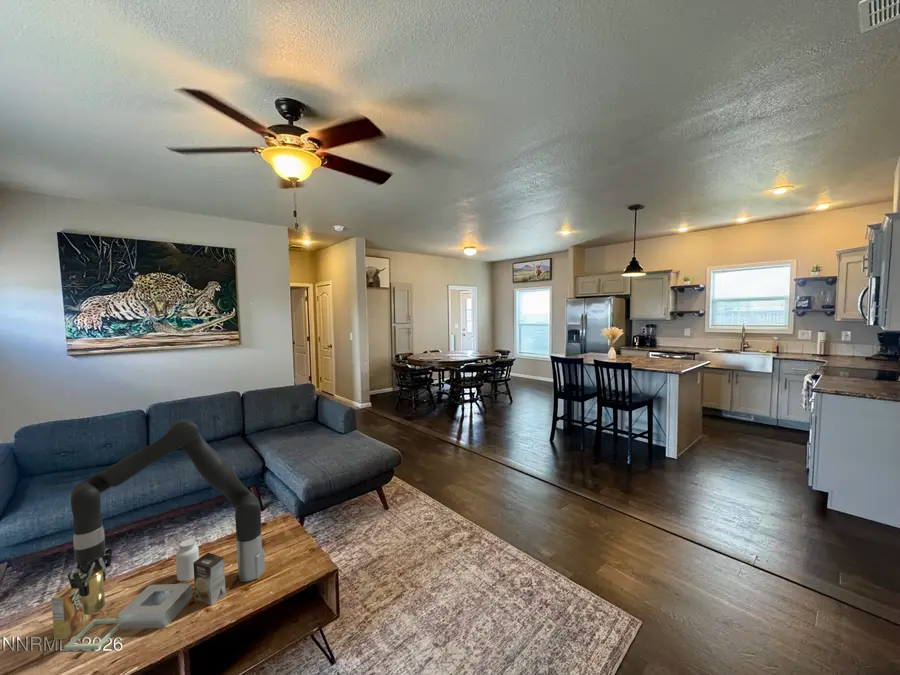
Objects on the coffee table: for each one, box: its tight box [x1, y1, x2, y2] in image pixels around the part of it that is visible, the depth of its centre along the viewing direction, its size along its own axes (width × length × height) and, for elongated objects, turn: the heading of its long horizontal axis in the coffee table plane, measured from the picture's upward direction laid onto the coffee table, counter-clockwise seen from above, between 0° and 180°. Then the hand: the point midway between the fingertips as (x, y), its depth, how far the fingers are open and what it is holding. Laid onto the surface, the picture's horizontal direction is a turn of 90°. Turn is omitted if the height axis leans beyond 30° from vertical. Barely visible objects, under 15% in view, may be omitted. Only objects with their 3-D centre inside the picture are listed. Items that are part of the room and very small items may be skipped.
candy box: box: [50, 583, 89, 641], centre depth 130 cm, size 9×4×15 cm, turn 6°
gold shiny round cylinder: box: [82, 568, 106, 616], centre depth 126 cm, size 5×5×13 cm
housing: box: [117, 583, 193, 630], centre depth 137 cm, size 16×14×6 cm
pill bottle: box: [175, 538, 200, 582], centre depth 156 cm, size 8×8×15 cm
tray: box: [63, 617, 120, 651], centre depth 127 cm, size 11×11×2 cm
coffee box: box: [193, 552, 226, 606], centre depth 144 cm, size 9×6×16 cm
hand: (93, 588), depth 126 cm, fingers closed on gold shiny round cylinder, 5 cm apart
